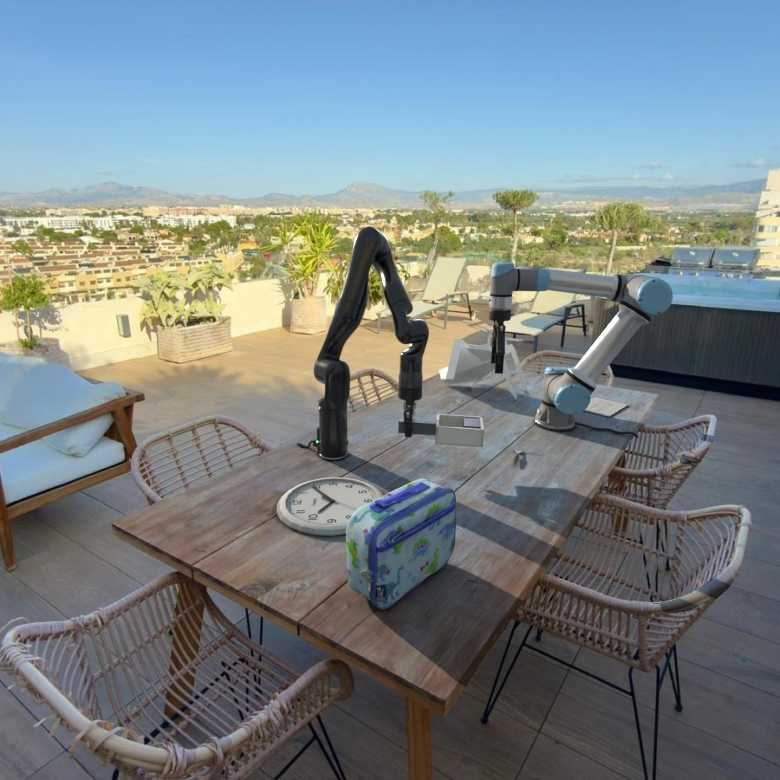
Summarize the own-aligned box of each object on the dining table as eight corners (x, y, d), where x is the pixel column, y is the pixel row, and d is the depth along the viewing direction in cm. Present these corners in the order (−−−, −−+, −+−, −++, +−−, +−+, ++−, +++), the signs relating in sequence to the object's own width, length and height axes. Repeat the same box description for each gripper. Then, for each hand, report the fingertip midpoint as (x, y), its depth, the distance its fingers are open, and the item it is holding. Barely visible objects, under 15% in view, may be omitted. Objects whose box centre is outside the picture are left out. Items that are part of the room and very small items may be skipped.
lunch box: (375, 622, 100) (376, 527, 94) (339, 595, 108) (338, 505, 101) (459, 565, 118) (465, 481, 112) (424, 545, 125) (427, 465, 119)
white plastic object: (461, 429, 252) (437, 405, 227) (444, 352, 274) (420, 323, 250) (535, 404, 240) (518, 377, 215) (510, 326, 262) (492, 293, 237)
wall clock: (392, 527, 129) (268, 531, 127) (391, 533, 130) (269, 537, 127) (383, 473, 158) (282, 475, 155) (383, 478, 158) (282, 480, 156)
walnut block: (479, 419, 168) (480, 427, 161) (478, 433, 169) (479, 442, 163) (464, 418, 168) (464, 425, 162) (462, 432, 170) (463, 440, 163)
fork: (510, 465, 168) (510, 460, 168) (516, 447, 182) (517, 442, 182) (518, 467, 167) (519, 461, 167) (524, 448, 182) (524, 443, 181)
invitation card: (608, 416, 214) (573, 407, 224) (608, 416, 214) (573, 408, 224) (628, 404, 229) (594, 396, 238) (628, 405, 229) (594, 397, 238)
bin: (480, 433, 172) (482, 416, 170) (482, 447, 161) (484, 429, 159) (400, 427, 175) (400, 411, 173) (396, 441, 163) (397, 423, 162)
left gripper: (400, 376, 170) (399, 426, 176) (396, 389, 157) (394, 442, 162) (423, 378, 170) (421, 427, 175) (421, 390, 156) (418, 444, 162)
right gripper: (486, 303, 192) (483, 359, 198) (492, 314, 168) (489, 377, 175) (506, 303, 191) (503, 359, 198) (516, 314, 168) (512, 377, 174)
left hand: (408, 434), depth 169 cm, fingers closed on bin, 3 cm apart
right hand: (496, 368), depth 186 cm, fingers open, 13 cm apart
